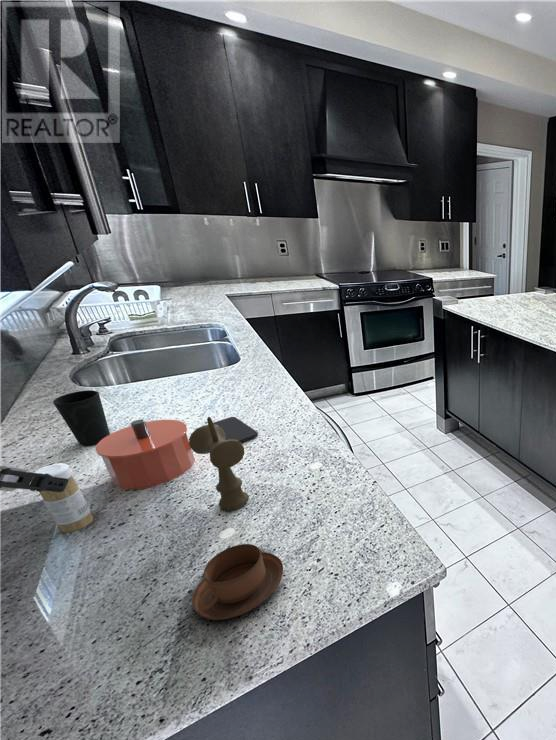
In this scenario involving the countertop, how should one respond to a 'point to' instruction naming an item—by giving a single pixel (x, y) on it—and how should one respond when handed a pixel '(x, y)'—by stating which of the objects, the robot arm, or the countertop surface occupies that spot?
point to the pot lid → (141, 438)
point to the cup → (84, 416)
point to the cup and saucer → (236, 582)
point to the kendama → (221, 462)
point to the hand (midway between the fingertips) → (40, 483)
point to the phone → (236, 429)
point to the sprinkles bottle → (66, 500)
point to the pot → (151, 466)
